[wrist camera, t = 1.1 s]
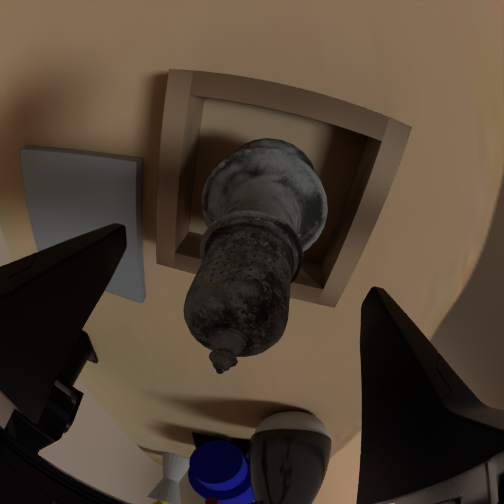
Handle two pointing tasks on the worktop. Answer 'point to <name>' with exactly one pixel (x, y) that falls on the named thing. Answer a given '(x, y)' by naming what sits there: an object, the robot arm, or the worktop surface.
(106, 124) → the worktop surface
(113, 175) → the slate coaster
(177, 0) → the worktop surface
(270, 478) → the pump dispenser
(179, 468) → the lava lamp
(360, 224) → the walnut holder
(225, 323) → the salt shaker
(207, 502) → the alarm clock
